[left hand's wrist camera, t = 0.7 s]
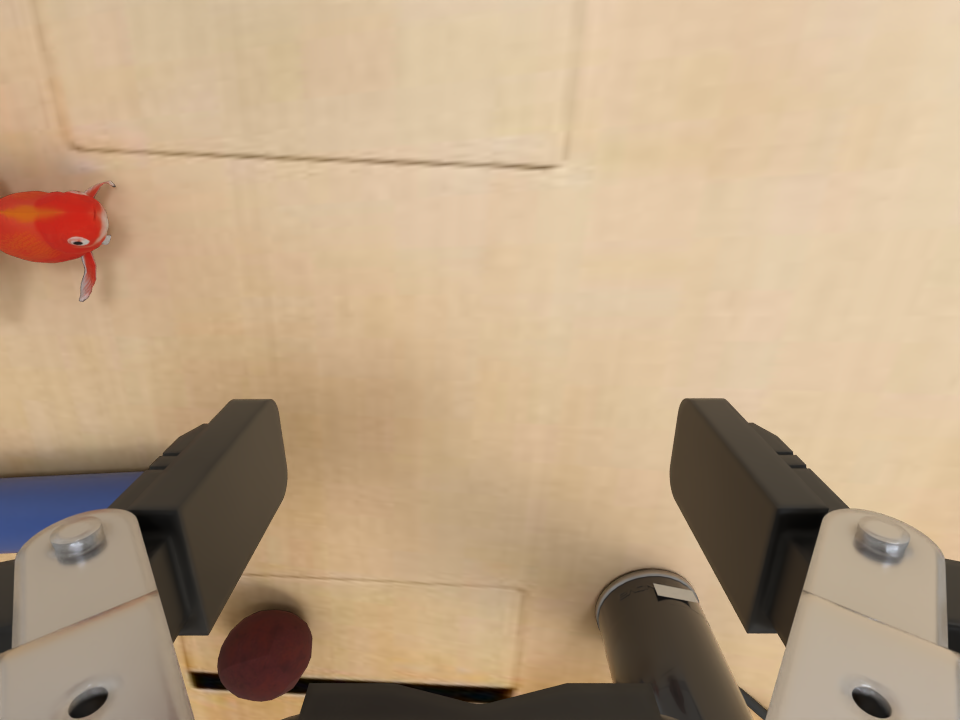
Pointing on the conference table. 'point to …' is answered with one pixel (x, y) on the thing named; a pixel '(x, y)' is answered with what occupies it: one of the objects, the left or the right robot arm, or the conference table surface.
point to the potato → (265, 655)
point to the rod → (53, 501)
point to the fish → (55, 228)
